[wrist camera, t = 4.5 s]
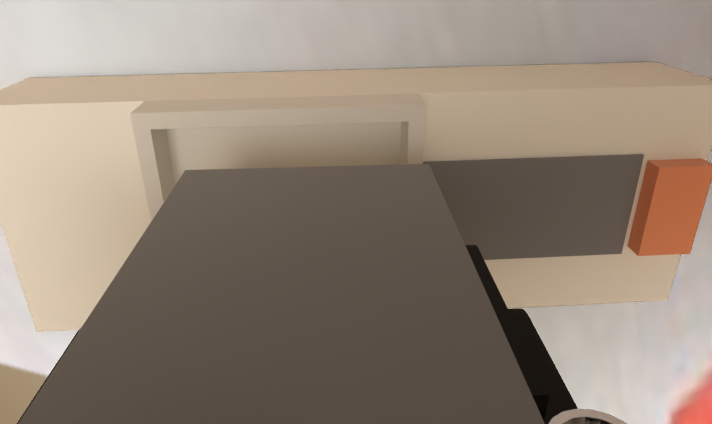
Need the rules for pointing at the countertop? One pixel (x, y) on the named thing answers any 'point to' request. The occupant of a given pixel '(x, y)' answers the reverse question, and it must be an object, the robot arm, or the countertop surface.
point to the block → (293, 311)
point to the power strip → (372, 147)
